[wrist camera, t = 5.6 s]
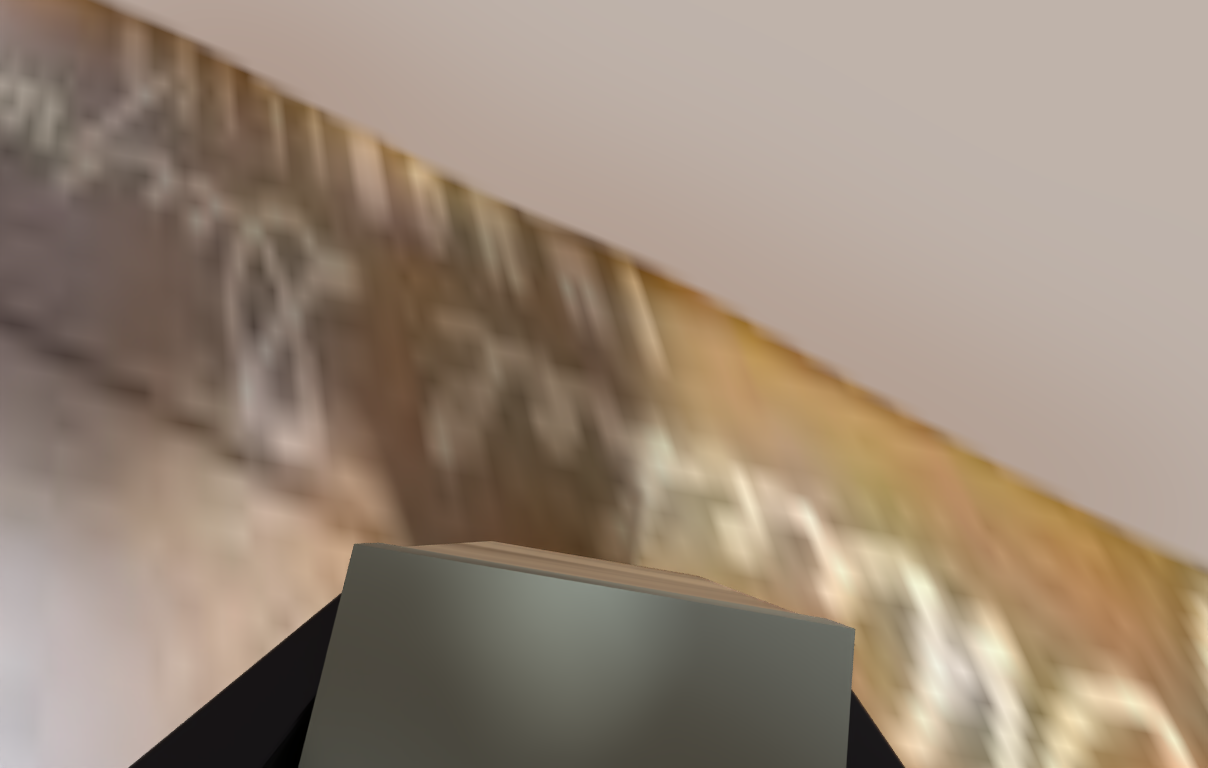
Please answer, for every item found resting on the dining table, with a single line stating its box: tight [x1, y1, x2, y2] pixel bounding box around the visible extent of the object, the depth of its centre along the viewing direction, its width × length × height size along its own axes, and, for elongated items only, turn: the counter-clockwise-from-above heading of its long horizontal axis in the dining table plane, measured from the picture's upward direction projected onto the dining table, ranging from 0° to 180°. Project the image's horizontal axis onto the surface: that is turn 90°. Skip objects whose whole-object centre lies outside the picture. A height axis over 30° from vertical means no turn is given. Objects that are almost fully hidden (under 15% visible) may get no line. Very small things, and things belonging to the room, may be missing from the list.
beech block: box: [298, 541, 855, 768], centre depth 10 cm, size 4×5×9 cm
